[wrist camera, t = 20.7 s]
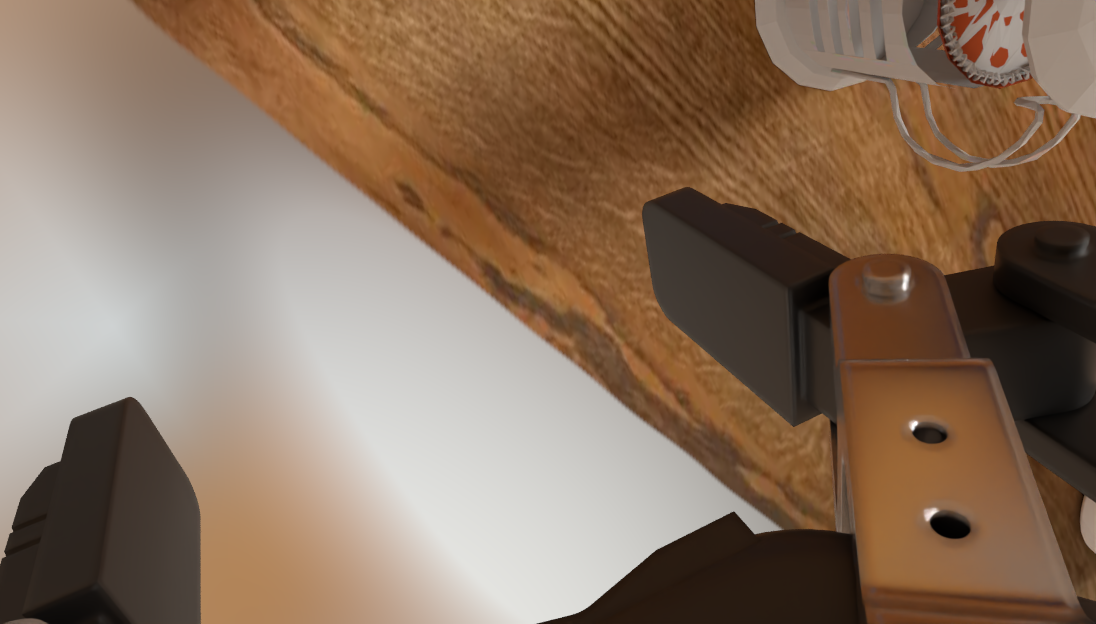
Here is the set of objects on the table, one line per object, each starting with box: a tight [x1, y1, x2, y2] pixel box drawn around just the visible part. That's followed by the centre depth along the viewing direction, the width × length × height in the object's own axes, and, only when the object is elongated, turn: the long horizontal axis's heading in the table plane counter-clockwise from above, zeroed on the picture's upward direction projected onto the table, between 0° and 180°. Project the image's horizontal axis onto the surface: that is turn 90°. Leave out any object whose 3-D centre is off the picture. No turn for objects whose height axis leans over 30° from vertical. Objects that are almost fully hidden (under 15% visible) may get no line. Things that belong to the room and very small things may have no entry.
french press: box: [755, 0, 1096, 171], centre depth 24 cm, size 10×12×25 cm
